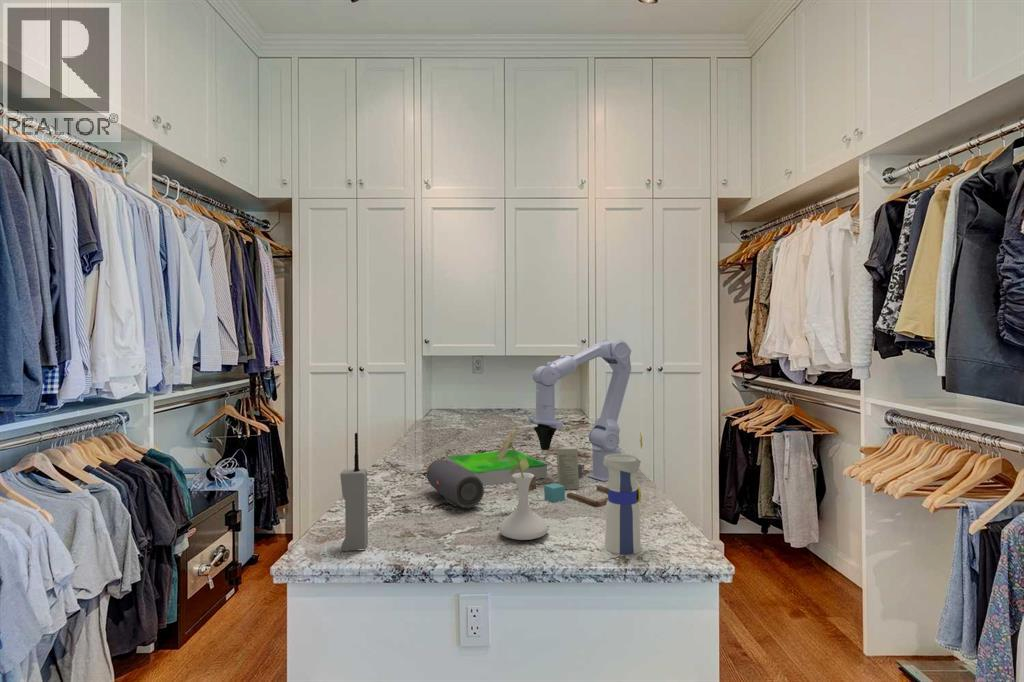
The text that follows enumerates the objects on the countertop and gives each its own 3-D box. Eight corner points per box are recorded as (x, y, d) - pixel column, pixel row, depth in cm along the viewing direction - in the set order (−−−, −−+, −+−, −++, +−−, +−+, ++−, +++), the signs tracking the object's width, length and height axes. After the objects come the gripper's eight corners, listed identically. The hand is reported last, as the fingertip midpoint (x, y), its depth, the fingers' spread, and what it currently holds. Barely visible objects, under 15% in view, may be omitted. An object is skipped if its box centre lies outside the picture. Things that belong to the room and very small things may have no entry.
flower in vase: (519, 523, 135) (518, 420, 134) (558, 534, 127) (557, 425, 127) (483, 539, 124) (482, 428, 124) (523, 551, 117) (522, 433, 117)
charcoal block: (573, 474, 182) (573, 462, 182) (581, 476, 178) (581, 464, 178) (564, 476, 179) (564, 464, 179) (572, 478, 176) (572, 466, 176)
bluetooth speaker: (424, 493, 161) (424, 458, 161) (454, 488, 166) (454, 455, 165) (452, 515, 141) (452, 476, 141) (486, 509, 145) (485, 471, 145)
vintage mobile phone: (344, 545, 121) (343, 431, 121) (367, 544, 122) (366, 431, 122) (341, 551, 118) (339, 434, 117) (364, 550, 118) (363, 434, 118)
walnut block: (527, 487, 167) (527, 473, 167) (535, 490, 164) (535, 476, 164) (517, 489, 165) (517, 475, 165) (525, 492, 161) (525, 478, 161)
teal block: (555, 497, 156) (555, 483, 156) (564, 500, 153) (564, 486, 153) (544, 499, 154) (544, 485, 154) (553, 503, 151) (553, 488, 151)
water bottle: (636, 539, 124) (636, 427, 123) (647, 554, 115) (646, 434, 115) (600, 539, 123) (599, 427, 123) (608, 555, 115) (607, 434, 115)
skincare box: (578, 485, 168) (578, 445, 167) (578, 489, 163) (578, 448, 163) (557, 485, 168) (557, 445, 168) (557, 489, 164) (556, 448, 164)
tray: (447, 471, 189) (447, 456, 189) (513, 463, 200) (513, 449, 200) (473, 489, 166) (473, 472, 166) (547, 479, 177) (546, 464, 177)
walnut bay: (600, 489, 164) (600, 485, 164) (629, 498, 154) (629, 494, 154) (566, 496, 156) (566, 493, 156) (595, 507, 147) (595, 503, 147)
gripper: (520, 403, 173) (520, 447, 173) (550, 408, 161) (550, 455, 162) (538, 402, 177) (538, 444, 178) (568, 407, 166) (568, 452, 166)
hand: (545, 449), depth 170 cm, fingers closed
